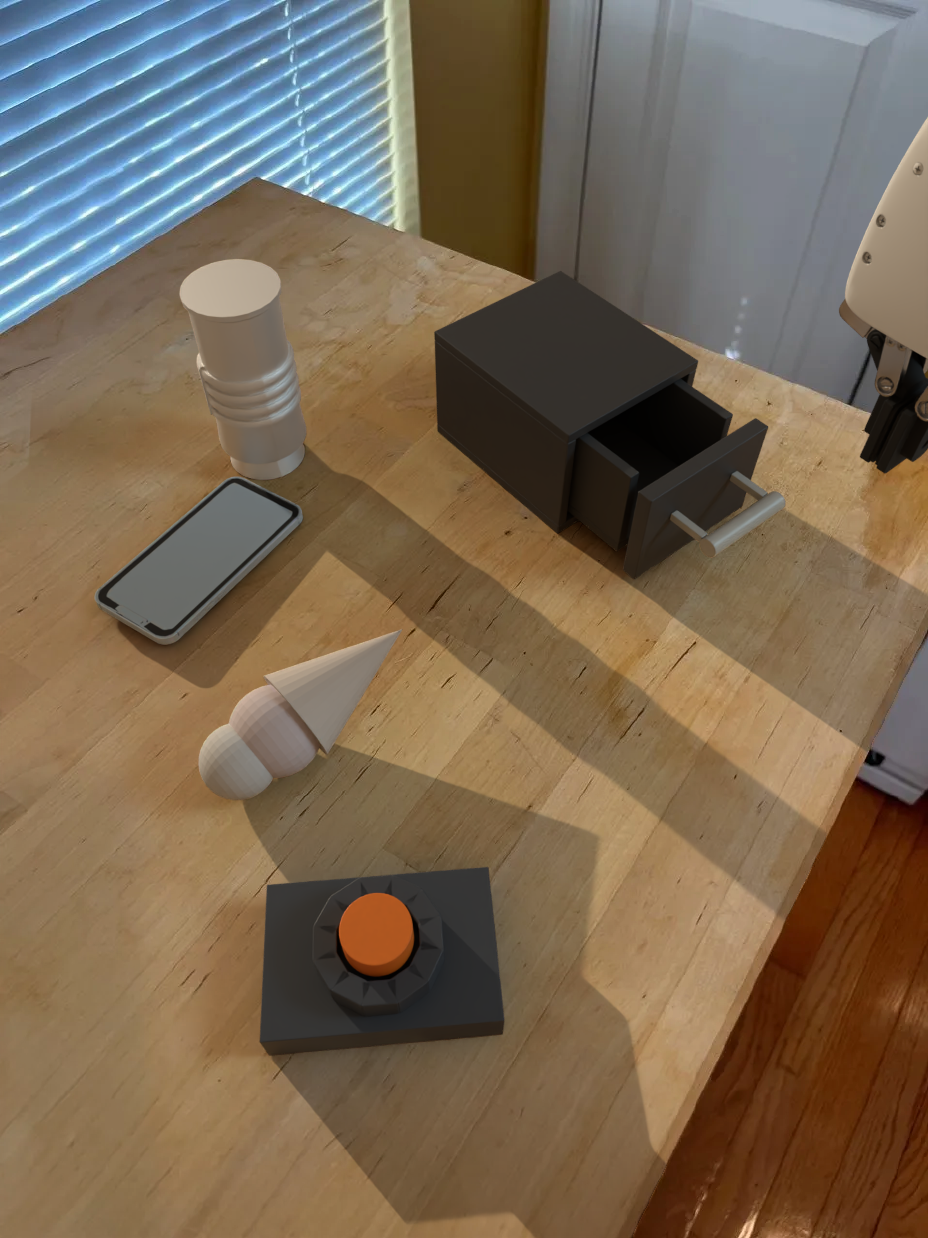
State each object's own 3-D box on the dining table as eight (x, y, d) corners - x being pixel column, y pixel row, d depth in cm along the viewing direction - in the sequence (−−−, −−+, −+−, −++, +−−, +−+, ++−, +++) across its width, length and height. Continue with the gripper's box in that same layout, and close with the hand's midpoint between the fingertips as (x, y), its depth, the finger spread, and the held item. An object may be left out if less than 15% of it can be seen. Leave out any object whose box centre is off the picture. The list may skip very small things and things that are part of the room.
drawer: (786, 539, 68) (819, 459, 62) (678, 617, 64) (701, 539, 58) (615, 413, 77) (628, 332, 70) (508, 475, 72) (513, 394, 66)
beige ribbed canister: (219, 433, 77) (174, 266, 65) (304, 419, 78) (274, 252, 66) (227, 491, 72) (180, 324, 61) (317, 475, 73) (288, 308, 62)
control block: (487, 885, 53) (489, 852, 50) (502, 1034, 48) (505, 1010, 45) (274, 903, 53) (260, 871, 49) (268, 1056, 48) (252, 1033, 44)
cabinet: (675, 460, 74) (699, 360, 67) (557, 534, 70) (568, 435, 62) (551, 370, 81) (560, 270, 74) (437, 431, 77) (433, 331, 69)
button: (412, 902, 48) (410, 889, 47) (415, 973, 46) (414, 962, 45) (342, 908, 48) (338, 895, 47) (342, 980, 46) (338, 968, 45)
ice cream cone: (418, 665, 62) (235, 816, 58) (362, 592, 61) (172, 740, 57) (446, 668, 56) (244, 836, 53) (385, 587, 55) (174, 752, 51)
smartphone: (308, 509, 70) (166, 644, 62) (309, 518, 71) (170, 652, 63) (232, 472, 73) (87, 597, 65) (234, 481, 73) (91, 606, 65)
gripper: (1310, 142, 34) (1054, 501, 48) (949, 10, 41) (820, 359, 55) (1211, 212, 31) (970, 571, 46) (841, 57, 38) (735, 411, 53)
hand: (888, 454), depth 50 cm, fingers closed
